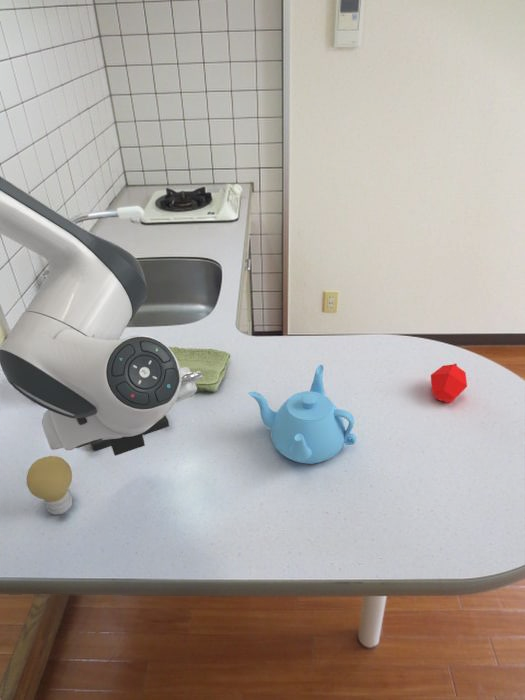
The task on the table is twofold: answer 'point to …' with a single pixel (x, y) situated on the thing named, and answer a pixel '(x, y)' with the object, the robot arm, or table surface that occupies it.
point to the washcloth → (203, 365)
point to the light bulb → (51, 483)
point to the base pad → (158, 425)
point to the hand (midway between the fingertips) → (118, 414)
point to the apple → (448, 382)
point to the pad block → (126, 444)
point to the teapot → (307, 424)
